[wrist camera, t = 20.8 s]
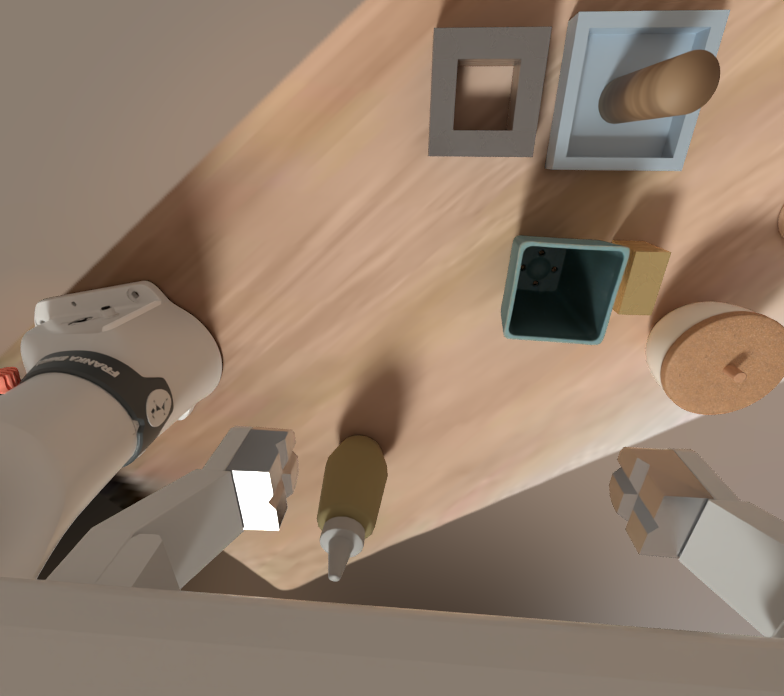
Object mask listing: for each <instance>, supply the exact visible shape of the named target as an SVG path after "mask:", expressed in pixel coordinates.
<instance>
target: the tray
mask: <svg viewBox="0 0 784 696" xmlns="http://www.w3.org/2000/svg"><path fill="white" fill-rule="evenodd" d="M729 13H730V10H676V11H600V12H578V13H577V14H576V15H575V16H574V17H573V18H572V19H571V20H569V22H568V28H567V34H566V40H565V46H564V52H563V59H562V65H561V71H560V77H559V83H558V89H557V95H556V102H555V108H554V114H553V120H552V126H551V132H550V139H549V145H548V151H547V157H546V163H545V169H552V170H640V171H682V168H683V164H684V161H685V158H686V154H687V151H688V148H689V145H690V141H691V138H692V135H693V131H694V128H695V125H696V121H697V118H698V115H699V112H700V109H698V110H696V111H695V112H692V113H690V114H686V115H679V116H672V117H664V118H657V119H649V120H641V121H634V122H626V123H619V124H611V123H608V122H606V121H605V120H603V119H602V117H601V116H600V113H599V109H598V102H599V98H600V95H601V93H602V91H603V89H604V88H605V87H606V86H607V85H608V84H609V83H610V82H611V81H612V80H614V79H616V78H618V77H621V76H624V75H626V74H629V73H632V72H634V71H637V70H640V69H643V68H645V67H648V66H651V65H654V64H656V63H659V62H662V61H664V60H667V59H670V58H673V57H675V56H678V55H681V54H684V53H686V52H689V51H692V50H700V49H701V50H706V51H709V52H711V53H712V54H713V55H714V56H715V57H716V55H717V52H718V49H719V46H720V42H721V39H722V36H723V32H724V29H725V26H726V22H727V19H728V16H729Z"/></svg>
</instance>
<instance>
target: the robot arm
mask: <svg viewBox="0 0 784 696" xmlns="http://www.w3.org/2000/svg"><path fill="white" fill-rule="evenodd" d="M136 292H137V293H138V294H139V296H138V295H137V294H136ZM34 320H35V328H33V329H31V330H29V331H28V332H26V333H25V335H24V336H23V338H22V341H21V355H22V360H23V364H24V366H25V369H26V372H27V374H26V375H25V376H24V378H23V379H22V380H21V379H20V376H19V372H18V369H17V368H15V367H6V368H3V369H0V394H2V395H0V696H784V521H782V520H781V519H779V518H777V517H775V516H773V515H771V514H770V513H768V512H766V511H764V510H763V509H761V508H759V507H757V506H756V505H754V504H752V503H750V502H743V501H741V500H740V499H739V498H738V497H737V496H736V495H735V494H734V493H733V492H732V490H731V489H730V488H729V487H728V486H727V485H726V484H725V483H724V482H723V481H722V479H721V478H720V477H719V476H718V475H717V474H716V473H715V472H714V471H713V470H712V468H711V467H710V466H709V465H708V464H707V463H706V462H705V461H704V460H703V459H702V458H701V456H700V455H699V454H698V453H696V452H695V451H693V450H691V449H656V448H634V447H624V448H623V449H622V450H621V451H620V453H619V456H618V459H617V460H618V462H619V464H620V466H621V468H619V469H618V470H617V471H615V472H614V473H613V474H612V477H611V480H610V484H609V487H610V498H611V502H612V505H613V507H614V509H615V511H616V513H617V514H618V515H620V516H621V517H622V518H624V519H625V520H626V521H628V523H627V526H626V531H627V533H628V535H629V537H630V539H631V541H632V542H633V544H634V546H635V548H636V550H637V552H638V554H639V555H648V556H659V557H669V558H679V561H680V562H681V563H682V564H683V565H684V566H686V567H687V568H688V569H689V570H690V571H691V572H692V573H693V574H695V575H696V576H697V577H698V578H699V579H700V580H701V581H703V582H704V583H705V584H706V585H707V586H708V587H709V588H710V589H712V590H713V591H714V592H715V593H716V594H717V595H718V596H719V597H721V598H722V599H723V600H724V601H725V602H726V603H727V604H729V605H730V606H731V607H732V608H733V609H734V610H735V611H737V612H738V613H739V614H740V615H741V616H742V617H743V618H744V619H745V620H747V621H748V622H749V623H750V624H751V625H752V626H754V627H755V628H756V629H757V630H758V631H759V632H760V633H761V634H763V635H764V636H765V637H762V636H749V635H736V634H724V633H711V632H699V631H686V630H673V629H661V628H648V627H634V626H621V625H608V624H596V623H583V622H570V621H558V620H544V619H532V618H520V617H519V618H518V617H507V616H494V615H482V614H469V613H456V612H444V611H431V610H418V609H405V608H393V607H380V606H367V605H355V604H341V603H329V602H316V601H303V600H291V599H278V598H265V597H252V596H239V595H227V594H214V593H202V592H189V591H180V589H181V588H182V587H183V586H184V585H185V584H186V583H187V582H188V581H189V580H190V579H192V578H193V577H194V576H195V575H196V574H197V573H198V572H199V571H200V570H201V569H203V568H204V567H205V566H206V565H207V564H208V563H209V562H210V561H211V560H212V559H213V558H215V556H217V555H218V554H219V553H220V552H221V551H222V550H223V549H225V548H226V547H227V546H228V545H229V544H230V543H231V542H232V541H233V540H234V539H236V538H237V537H238V536H239V535H240V534H241V533H242V532H243V531H244V529H260V530H279V528H280V526H281V523H282V520H283V518H284V515H285V513H286V510H287V501H286V498H287V497H289V496H290V495H291V494H293V492H294V489H295V486H296V483H297V477H298V467H299V463H298V456H297V455H296V454H295V453H294V452H293V448H294V446H295V444H296V440H295V433H294V431H293V430H291V429H278V428H264V427H247V426H234V427H232V428H231V429H230V430H229V432H228V433H227V435H226V436H225V437H224V439H223V440H222V442H221V443H220V444H219V446H218V447H217V449H216V450H215V452H214V453H213V454H212V456H211V457H210V459H209V460H208V462H207V463H206V464H205V466H204V467H203V469H196V470H194V471H192V472H190V473H188V474H187V475H185V476H183V477H181V478H180V479H178V480H176V481H174V482H172V483H171V484H169V485H167V486H165V487H164V488H162V489H160V490H158V491H157V492H155V493H153V494H151V495H149V496H148V497H146V498H144V499H142V500H141V501H139V502H137V503H135V504H133V505H132V506H130V507H128V508H126V509H125V510H123V511H121V512H119V513H118V514H116V515H114V516H112V517H111V518H109V519H107V520H105V521H103V522H102V523H100V524H98V525H96V526H95V527H93V528H91V529H90V530H89V532H88V533H87V534H86V535H85V536H84V537H83V538H82V540H81V541H80V542H79V543H78V544H77V545H76V546H75V548H74V549H73V550H72V551H71V552H70V553H69V554H68V555H67V556H66V558H65V559H64V560H63V561H62V562H61V563H60V564H59V566H58V567H57V568H56V569H55V570H54V571H53V572H52V573H51V575H50V576H49V577H48V578H47V579H46V580H36V579H37V577H38V575H39V573H40V572H41V570H42V568H43V566H44V565H45V563H46V561H47V560H48V558H49V556H50V555H51V553H52V552H53V550H54V548H55V547H56V545H57V544H58V542H59V541H60V539H61V538H62V536H63V535H64V533H65V532H66V530H67V529H68V528H69V526H70V525H71V524H72V523H73V521H74V520H75V519H76V517H77V516H78V515H79V514H80V513H81V512H82V510H83V509H84V508H85V507H86V506H87V505H88V504H89V503H90V502H91V500H92V499H93V498H94V497H95V496H96V495H97V494H98V493H99V492H100V490H101V489H102V488H103V487H104V486H105V485H106V484H107V483H108V482H109V481H110V480H111V478H112V477H113V476H114V475H115V474H116V473H117V472H118V471H119V470H120V469H121V468H122V467H125V466H127V465H129V464H130V463H132V462H133V461H134V460H135V459H136V458H137V457H139V456H140V455H141V454H142V453H143V452H145V449H146V448H147V447H148V446H149V445H150V444H151V443H152V442H153V441H154V440H155V439H156V438H157V437H158V436H159V435H160V434H162V433H163V432H164V431H165V430H166V429H167V428H169V427H170V426H171V425H172V424H173V423H174V422H176V421H177V420H183V419H185V418H186V417H187V416H188V415H189V414H190V413H191V412H192V410H193V408H194V406H195V404H196V403H198V402H199V401H200V400H202V399H203V398H205V397H206V396H208V395H209V394H210V393H212V391H213V390H214V389H215V388H216V386H217V385H218V383H219V381H220V378H221V373H222V360H221V355H220V352H219V349H218V346H217V344H216V342H215V340H214V339H213V337H212V335H211V334H210V333H209V331H208V330H207V329H206V328H205V326H204V325H203V324H202V323H201V322H200V321H198V320H197V319H196V318H195V317H194V316H192V315H191V314H190V313H188V312H187V311H185V310H183V309H182V308H180V307H178V306H176V305H175V304H173V303H172V302H171V301H169V299H168V298H167V297H166V296H165V295H164V294H163V293H162V292H161V290H160V289H159V288H158V287H156V286H155V285H154V284H153V283H151V282H149V281H139V282H134V283H128V284H123V285H117V286H111V287H106V288H100V289H95V290H89V291H84V292H78V293H73V294H67V295H61V296H56V297H51V298H46V299H43V300H41V301H40V302H38V303H37V305H36V308H35V318H34Z"/></svg>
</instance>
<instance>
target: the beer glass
mask: <svg viewBox="0 0 784 696" xmlns="http://www.w3.org/2000/svg"><path fill="white" fill-rule="evenodd" d="M778 229H779V232H780V234H781V236H782V237H783V238H784V206H783V208H782V210H781V212H780V215H779V219H778Z"/></svg>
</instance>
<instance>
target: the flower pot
mask: <svg viewBox="0 0 784 696" xmlns="http://www.w3.org/2000/svg"><path fill="white" fill-rule="evenodd" d="M541 250H543V251H544V254H543V255H539V252H540V251H541ZM629 255H630V248H629V247H626V246H622V245H617V244H613V243H609V242H605V241H600V240H589V239H567V238H550V237H535V236H522V235H520V236H516V237H515V238H514V240H513V244H512V250H511V256H510V262H509V268H508V273H507V279H506V285H505V290H504V295H503V301H502V306H501V318H502V326H503V333H504V336H505V337H506V338H507V339H517V340H533V341H548V342H562V343H574V344H586V345H598V344H600V343H601V342H602V340H603V339H604V336H605V333H606V329H607V326H608V323H609V319H610V315H611V312H612V308H613V306H614V302H615V299H616V296H617V292H618V290H619V286H620V283H621V281H622V278H623V274H624V271H625V268H626V265H627V262H628V259H629ZM521 265H525V268H524V269H523V270H522V269H521ZM553 267H556V268H557V270H556V271H554V272H553V271H552V270H551V269H552V268H553ZM534 281H537V282H538V283H537V285H533V282H534Z"/></svg>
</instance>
